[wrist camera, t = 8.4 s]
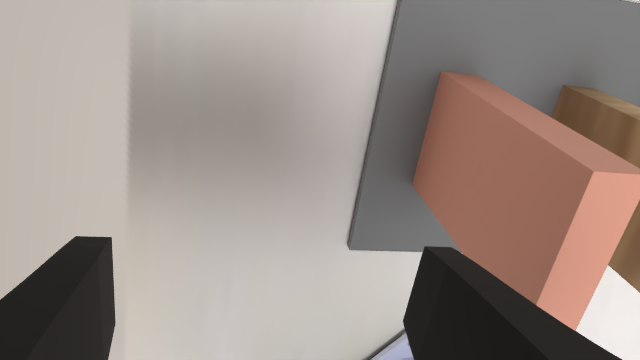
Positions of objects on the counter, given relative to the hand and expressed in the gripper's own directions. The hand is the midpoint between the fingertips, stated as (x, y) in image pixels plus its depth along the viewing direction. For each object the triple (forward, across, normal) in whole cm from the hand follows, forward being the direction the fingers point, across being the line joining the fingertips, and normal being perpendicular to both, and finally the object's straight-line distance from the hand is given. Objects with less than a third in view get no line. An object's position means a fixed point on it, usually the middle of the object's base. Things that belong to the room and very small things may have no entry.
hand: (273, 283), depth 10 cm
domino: (+10, -8, 0) cm, 13 cm away
